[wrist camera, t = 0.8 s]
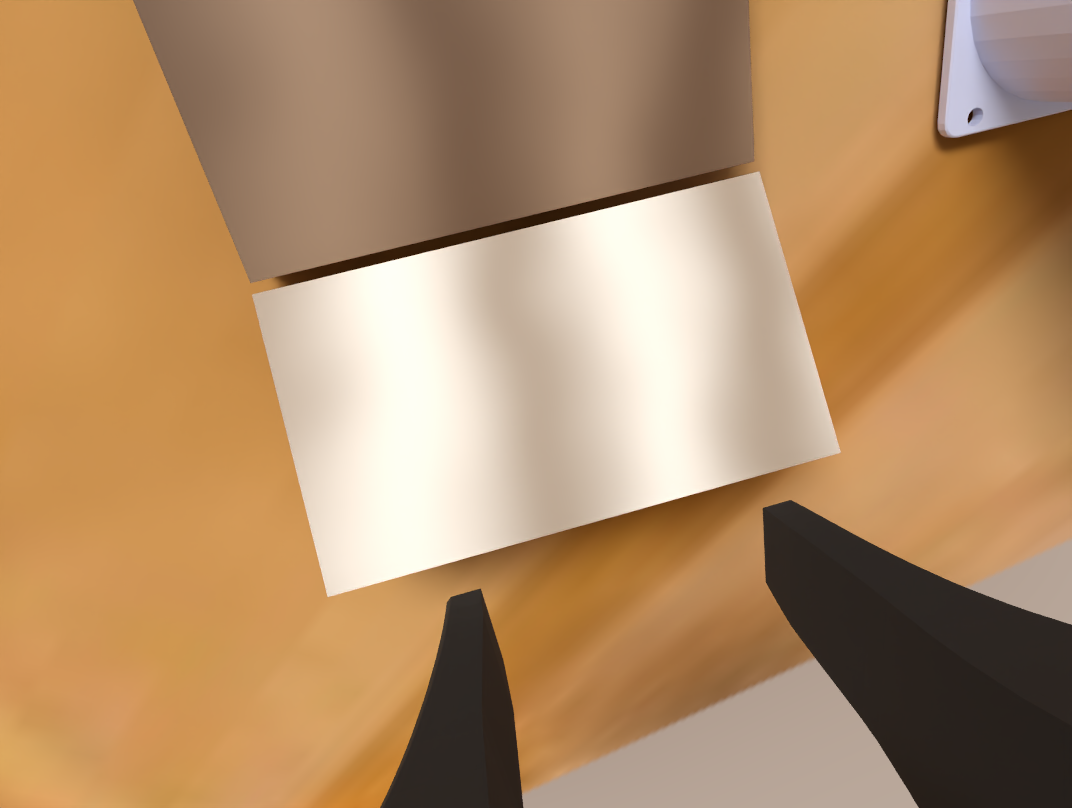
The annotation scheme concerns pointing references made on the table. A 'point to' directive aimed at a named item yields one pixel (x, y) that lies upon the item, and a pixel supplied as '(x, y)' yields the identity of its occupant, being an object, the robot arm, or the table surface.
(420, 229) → the walnut planks
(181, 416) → the table surface
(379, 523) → the ash plank
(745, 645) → the table surface
